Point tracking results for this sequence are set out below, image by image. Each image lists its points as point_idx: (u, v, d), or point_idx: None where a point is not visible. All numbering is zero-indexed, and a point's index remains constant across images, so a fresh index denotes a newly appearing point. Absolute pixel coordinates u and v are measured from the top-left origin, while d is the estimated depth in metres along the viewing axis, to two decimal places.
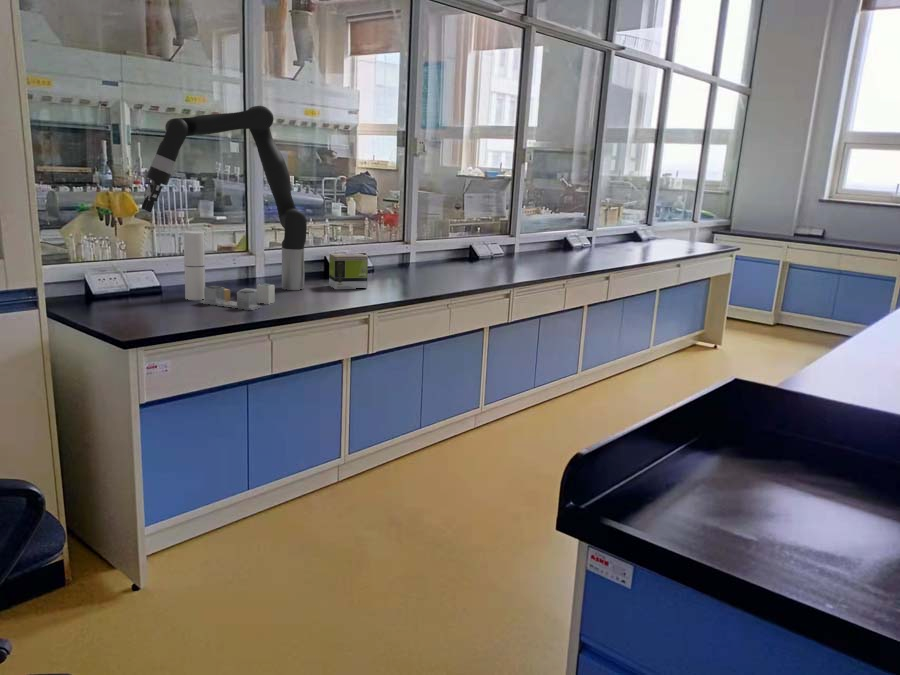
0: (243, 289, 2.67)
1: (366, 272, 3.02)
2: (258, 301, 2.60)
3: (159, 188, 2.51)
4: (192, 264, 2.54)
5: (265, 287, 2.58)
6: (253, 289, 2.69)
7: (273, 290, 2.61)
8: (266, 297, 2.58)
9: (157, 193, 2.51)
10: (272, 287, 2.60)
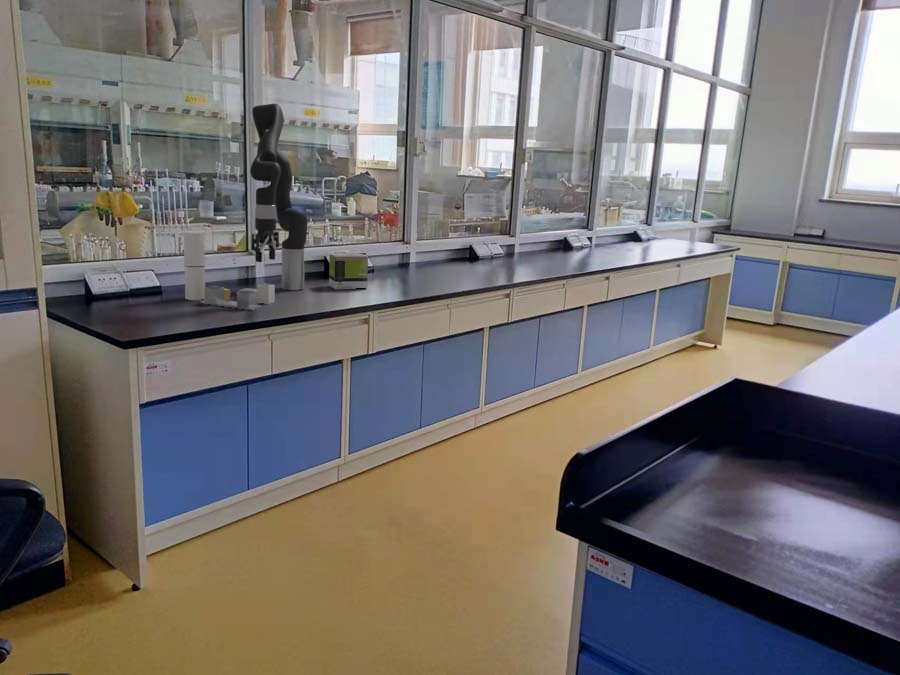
0: (243, 289, 2.67)
1: (366, 272, 3.02)
2: (258, 301, 2.60)
3: None
4: (192, 264, 2.54)
5: (265, 287, 2.58)
6: (253, 289, 2.69)
7: (273, 290, 2.61)
8: (266, 297, 2.58)
9: None
10: (272, 287, 2.60)
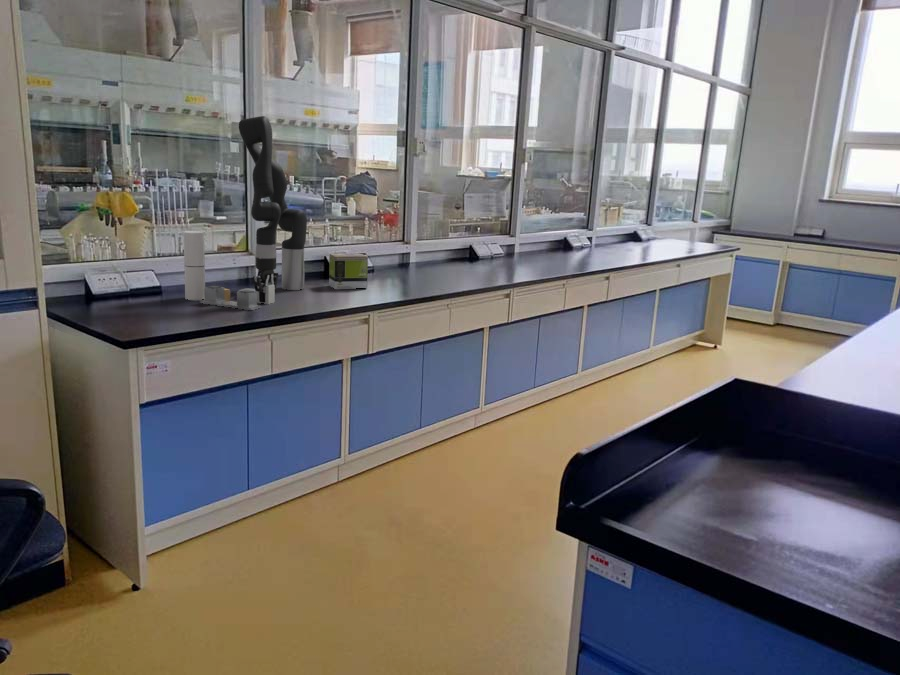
0: (243, 289, 2.67)
1: (366, 272, 3.02)
2: (258, 301, 2.60)
3: None
4: (192, 264, 2.54)
5: None
6: (253, 289, 2.69)
7: (273, 290, 2.61)
8: (266, 297, 2.58)
9: None
10: (272, 287, 2.60)
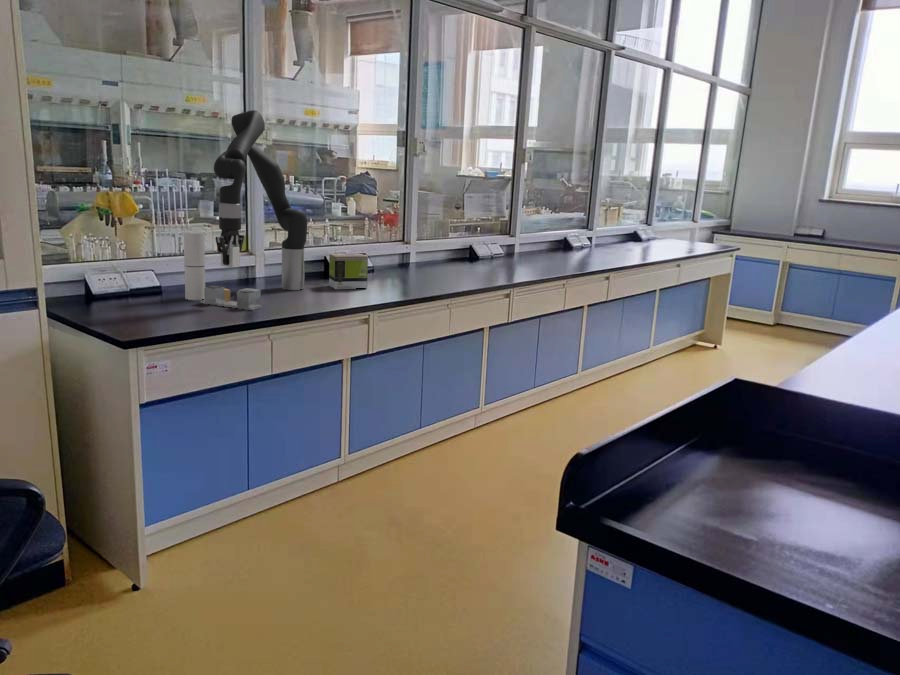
0: (243, 289, 2.68)
1: (366, 272, 3.02)
2: (222, 264, 2.47)
3: None
4: (192, 264, 2.54)
5: None
6: (253, 289, 2.69)
7: (238, 252, 2.48)
8: (230, 259, 2.46)
9: None
10: (237, 249, 2.47)
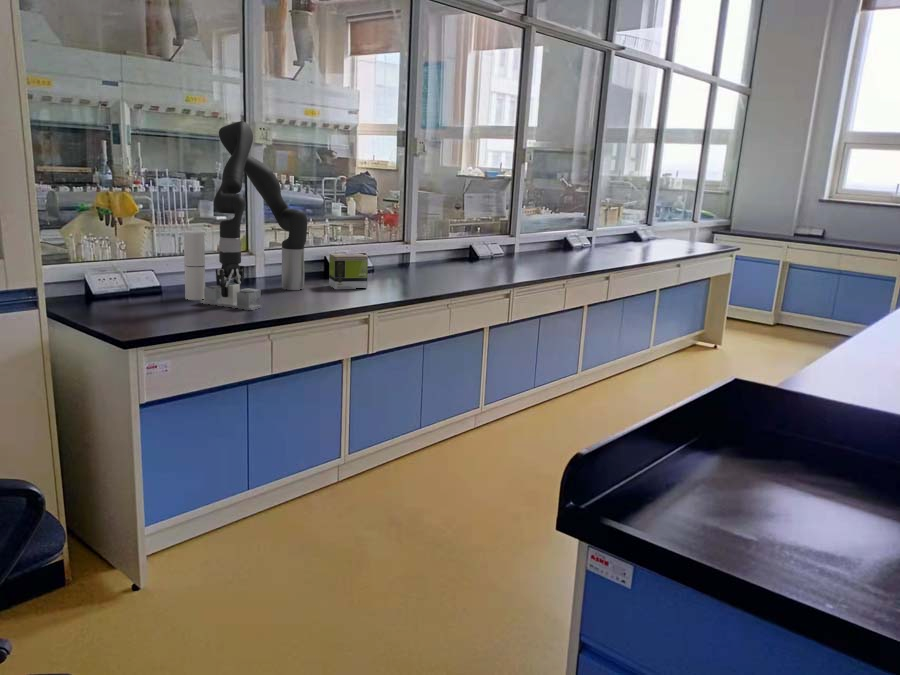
0: (243, 289, 2.68)
1: (366, 272, 3.02)
2: (222, 301, 2.51)
3: None
4: (192, 264, 2.54)
5: (229, 286, 2.48)
6: (253, 289, 2.69)
7: (238, 290, 2.51)
8: (231, 297, 2.49)
9: None
10: (237, 286, 2.50)
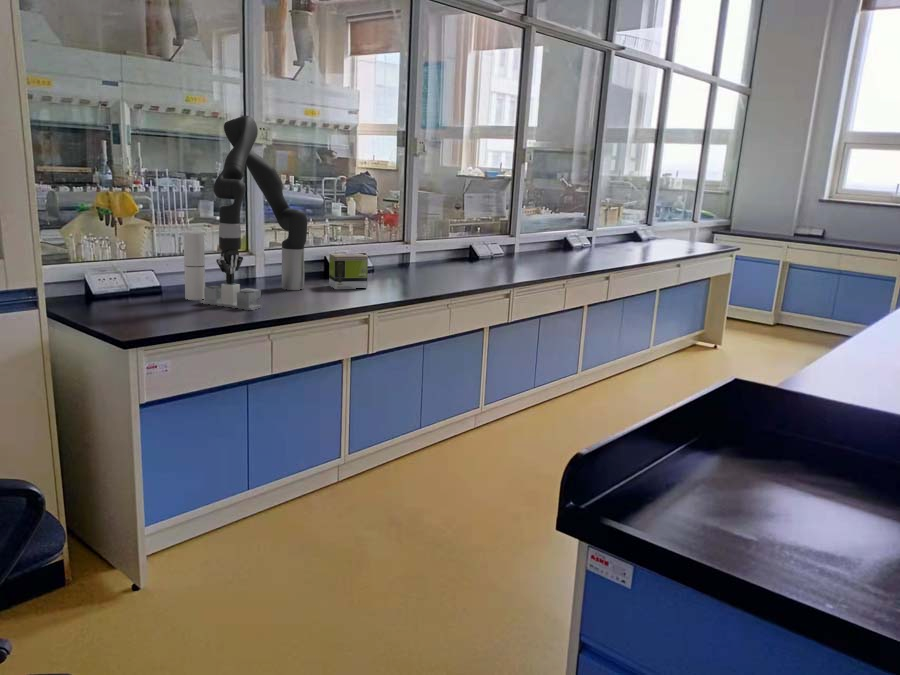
0: (243, 289, 2.68)
1: (366, 272, 3.02)
2: (222, 301, 2.51)
3: None
4: (192, 264, 2.54)
5: (229, 286, 2.48)
6: (253, 289, 2.68)
7: (238, 290, 2.51)
8: (231, 297, 2.49)
9: None
10: (237, 286, 2.50)
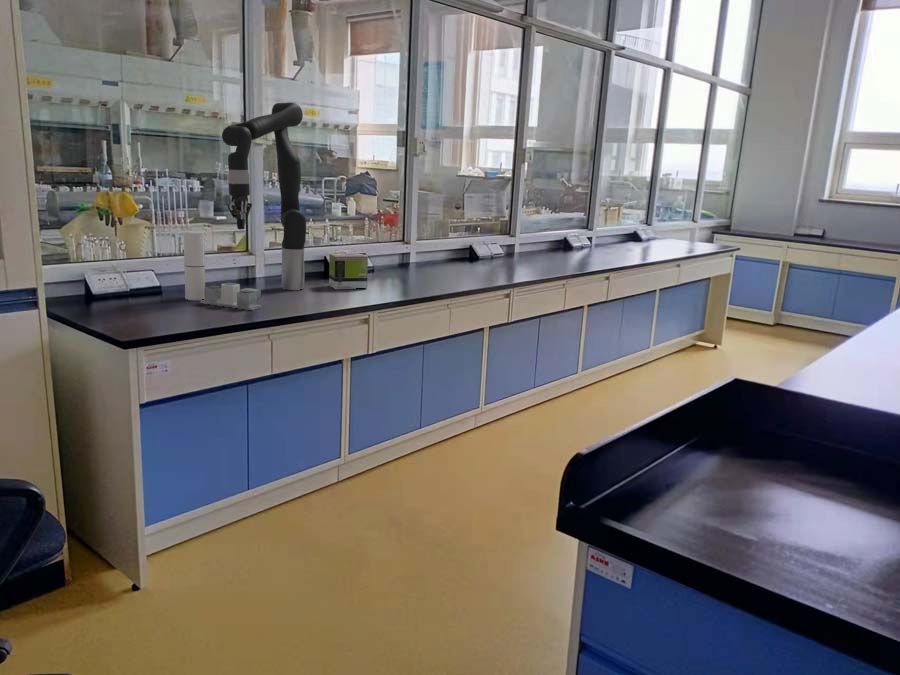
0: (244, 289, 2.68)
1: (366, 272, 3.02)
2: (222, 301, 2.51)
3: None
4: (192, 264, 2.54)
5: (229, 286, 2.48)
6: (254, 289, 2.68)
7: (238, 290, 2.51)
8: (231, 297, 2.49)
9: None
10: (237, 286, 2.50)
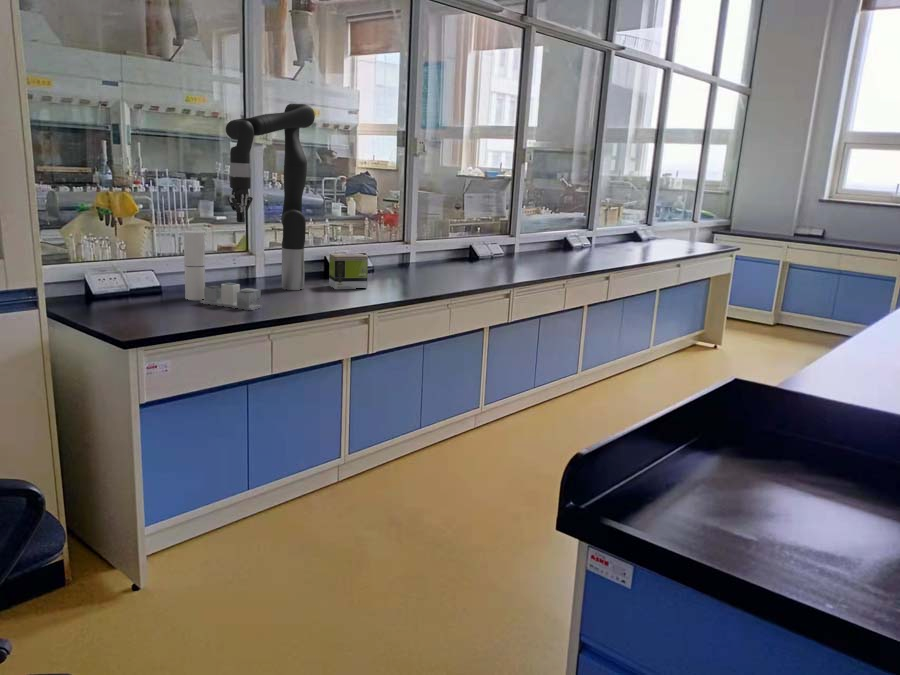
0: (244, 289, 2.68)
1: (366, 272, 3.02)
2: (222, 301, 2.51)
3: None
4: (192, 264, 2.54)
5: (229, 286, 2.48)
6: (254, 289, 2.68)
7: (238, 290, 2.51)
8: (231, 297, 2.49)
9: None
10: (237, 286, 2.50)
